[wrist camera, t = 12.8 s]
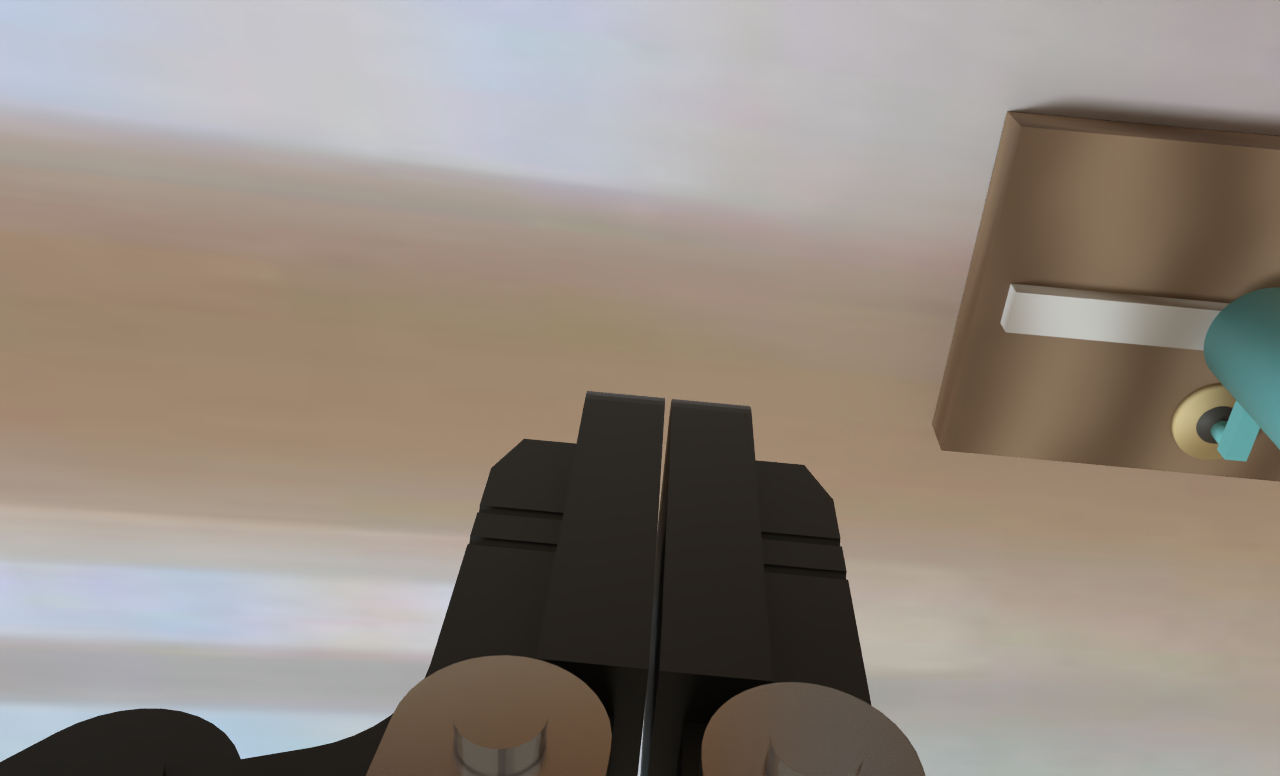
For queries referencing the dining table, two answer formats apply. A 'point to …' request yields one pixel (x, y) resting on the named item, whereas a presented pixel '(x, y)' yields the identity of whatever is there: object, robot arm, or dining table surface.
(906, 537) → the dining table surface
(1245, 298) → the teal lever handle
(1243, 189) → the gauge board
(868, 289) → the dining table surface
